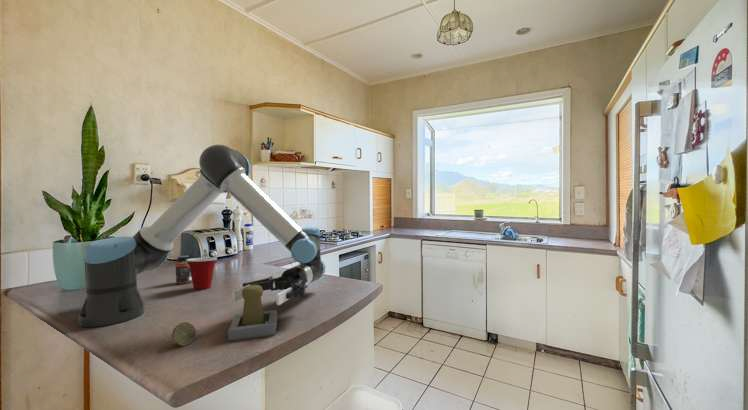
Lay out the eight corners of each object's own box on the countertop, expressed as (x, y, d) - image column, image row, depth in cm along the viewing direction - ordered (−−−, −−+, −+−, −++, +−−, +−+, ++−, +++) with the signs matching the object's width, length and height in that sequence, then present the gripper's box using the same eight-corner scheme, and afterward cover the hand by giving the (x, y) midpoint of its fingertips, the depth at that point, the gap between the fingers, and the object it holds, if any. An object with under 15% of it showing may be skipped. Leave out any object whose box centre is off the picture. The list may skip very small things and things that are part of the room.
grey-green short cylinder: (197, 338, 77) (197, 318, 77) (188, 347, 72) (187, 326, 72) (178, 340, 76) (178, 319, 76) (168, 349, 71) (167, 327, 71)
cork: (245, 323, 85) (244, 283, 85) (268, 321, 85) (266, 282, 85) (237, 332, 79) (236, 289, 79) (262, 330, 79) (260, 288, 79)
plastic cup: (224, 284, 127) (223, 255, 127) (206, 292, 116) (205, 260, 116) (200, 284, 129) (199, 255, 128) (180, 291, 118) (179, 260, 118)
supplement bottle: (195, 281, 132) (194, 255, 132) (180, 285, 127) (179, 258, 127) (188, 280, 135) (187, 254, 135) (173, 283, 130) (172, 256, 130)
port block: (228, 340, 75) (228, 330, 75) (235, 323, 85) (235, 314, 85) (275, 334, 78) (275, 324, 78) (277, 318, 88) (276, 310, 88)
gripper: (331, 291, 99) (297, 316, 78) (264, 287, 105) (217, 308, 85) (331, 268, 98) (296, 286, 78) (263, 265, 105) (216, 281, 85)
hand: (255, 298), depth 81 cm, fingers open, 13 cm apart
